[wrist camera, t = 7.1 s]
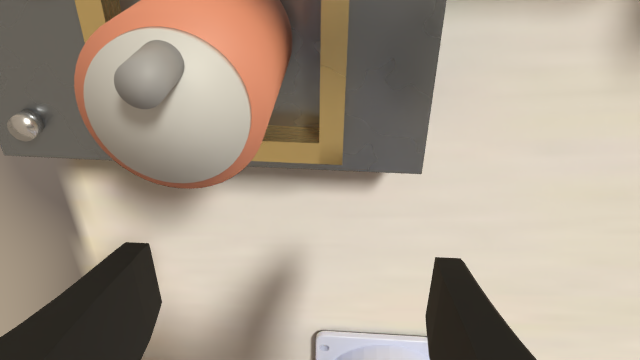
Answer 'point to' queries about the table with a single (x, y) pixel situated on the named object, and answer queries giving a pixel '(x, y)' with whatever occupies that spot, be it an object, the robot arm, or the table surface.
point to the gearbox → (293, 98)
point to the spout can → (184, 86)
